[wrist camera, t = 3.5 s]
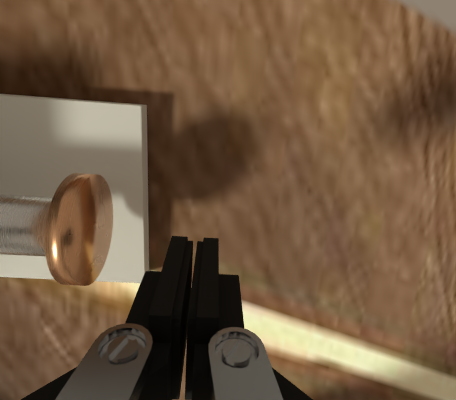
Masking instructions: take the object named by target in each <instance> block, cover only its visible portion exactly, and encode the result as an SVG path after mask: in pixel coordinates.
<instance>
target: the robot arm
mask: <svg viewBox="0 0 456 400" xmlns="http://www.w3.org/2000/svg"><path fill="white" fill-rule="evenodd" d="M192 256H193V241H188V239H187V237H180V236H172V238H171V241H170V244H169V248H168V251H167V254H166V258H165V261H164V264H163V268H162V271H161V272H158V271H146V272H145V274H144V276H143V279H142V281H141V284H140V286H139V289H138V292H137V294H136V297H135V299H134V302H133V305H132V307H131V310H130V312H129V315H128V318H127V320H126V323H125V324H120V325H116V326H114V327H111V328H109V329H107V330H106V331H104V332H103V333H101V334H100V335H99V337H98V338H97V339H96V340H95V341H94V343H93V344H92V346H91V347H90V349H89V350H88V352H87V353H86V355H85V356H84V358H83V359H82V361H81V362H80V364H79V365H78V367H76V368H74V369H73V370H71V371H69V372H67V373H66V374H64V375H62V376H61V377H59V378H57V379H55V380H54V381H52V382H50V383H48V384H47V385H45V386H43V387H42V388H40V389H38V390H36V391H35V392H33V393H31V394H30V395H28V396H26V397H24V398H23V399H21V400H172V399H179V397H180V389H181V381H182V373H183V364H184V356H185V348H186V340H187V354H186V384H185V400H313V399H311V398H310V397H309V396H307V395H306V394H305V393H304V392H302V391H301V390H300V389H299V388H297V387H296V386H295V385H293V384H292V383H291V382H290V381H288V380H287V379H286V378H285V377H283V376H282V375H281V374H280V373H278V372H277V371H276V370H274V369H273V368H272V367H271V364H270V361H269V358H268V355H267V353H266V350H265V347H264V345H263V343H262V341H261V339H260V338H259V337H258V336H257V335H256V334H254V333H253V332H251V331H249V330H247V329H244V321H243V312H242V302H241V293H240V283H239V276H238V275H224V274H219V257H218V238H204V240H203V242H201V241H198V242H197V249H196V257H195V265H194V273H193V280H192ZM191 282H192V288H191Z"/></svg>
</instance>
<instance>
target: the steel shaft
mask: <svg viewBox="0 0 456 400" xmlns="http://www.w3.org/2000/svg"><path fill="white" fill-rule="evenodd" d="M112 230H113V203H112V197H111V192H110V189H109V186H108V184H107V182H106V180H105V179H104V178H103V177H102V176H101V175H98V174H84V173H73V174H71V175H69V176H67V177H66V178H65V179H64V180H63V181H62V182H61V184H60V185H59V187H58V188H57V190H56V192H55V194H54V196H53V197H41V196H24V195H7V194H0V254H5V255H25V256H46V260H47V265H48V268H49V271H50V273H51V275H52V277H53V278H54V279H55V280H56V281H57V282H58V283H60V284H63V285H82V286H87V285H90V284H92V283H93V282H94V281H95V280H96V279H97V277H98V276H99V275H100V273H101V271H102V269H103V267H104V264H105V262H106V259H107V256H108V252H109V248H110V243H111V238H112Z"/></svg>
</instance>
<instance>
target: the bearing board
mask: <svg viewBox="0 0 456 400" xmlns="http://www.w3.org/2000/svg"><path fill="white" fill-rule="evenodd" d="M73 173H84V174H98V175H101V176H102V177H103V178H104V179H105V180H106V182H107V184H108V186H109V189H110V192H111V197H112V203H113V230H112V238H111V243H110V248H109V252H108V256H107V259H106V262H105V264H104V267H103V269H102V271H101V273H100V275H99V276H98V277H97V279H96V280H95V281H104V282H126V283H141V281H142V279H143V276H144V274H145V272H146V271H149V220H148V150H147V105H143V104H130V103H116V102H103V101H90V100H77V99H63V98H50V97H37V96H24V95H11V94H0V194H7V195H24V196H41V197H53V196H54V194H55V192H56V190H57V188H58V187H59V185H60V184H61V182H62V181H63V180H64V179H65V178H66V177H67V176H69V175H71V174H73ZM0 277H16V278H38V279H54V278H53V277H52V275H51V273H50V271H49V268H48V265H47V260H46V256H25V255H5V254H0Z"/></svg>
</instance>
